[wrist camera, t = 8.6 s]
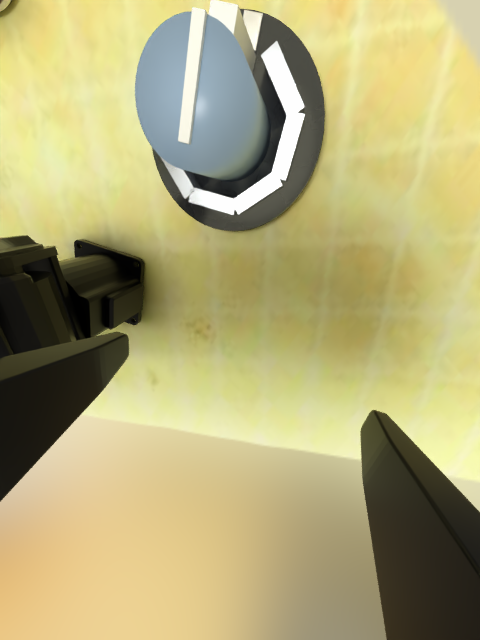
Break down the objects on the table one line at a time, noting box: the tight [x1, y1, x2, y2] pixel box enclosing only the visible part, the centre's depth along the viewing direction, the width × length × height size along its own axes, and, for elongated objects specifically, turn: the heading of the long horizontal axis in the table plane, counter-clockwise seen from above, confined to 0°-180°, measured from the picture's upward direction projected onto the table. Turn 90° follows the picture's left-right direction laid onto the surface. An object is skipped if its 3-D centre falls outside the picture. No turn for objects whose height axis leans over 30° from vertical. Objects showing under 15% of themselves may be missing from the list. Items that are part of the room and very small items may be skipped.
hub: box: [152, 9, 325, 231], centre depth 15 cm, size 11×11×2 cm
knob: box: [135, 0, 271, 182], centre depth 12 cm, size 6×5×6 cm
